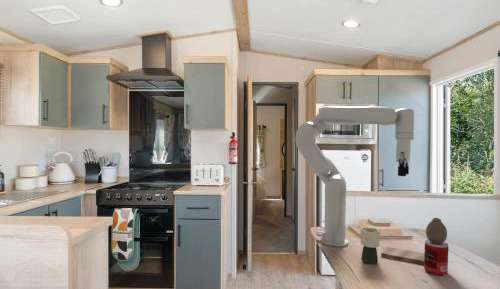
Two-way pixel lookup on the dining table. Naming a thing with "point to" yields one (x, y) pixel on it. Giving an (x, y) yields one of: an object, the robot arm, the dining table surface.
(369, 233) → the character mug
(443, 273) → the canned food
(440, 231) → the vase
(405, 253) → the walnut board
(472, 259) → the dining table surface
